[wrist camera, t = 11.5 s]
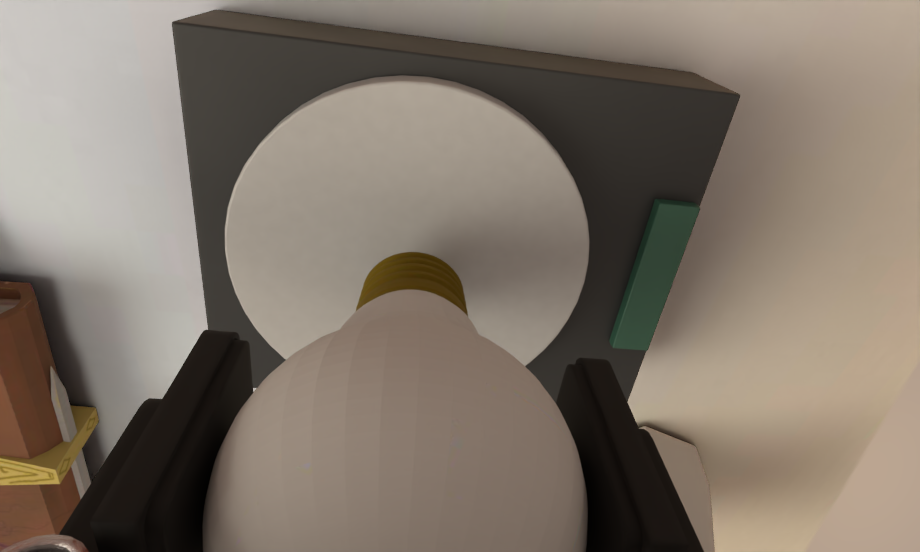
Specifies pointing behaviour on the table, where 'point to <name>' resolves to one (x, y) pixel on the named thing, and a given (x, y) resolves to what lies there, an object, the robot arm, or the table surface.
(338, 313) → the scale
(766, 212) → the table surface
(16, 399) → the book
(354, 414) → the light bulb
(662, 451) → the flask
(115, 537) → the robot arm
